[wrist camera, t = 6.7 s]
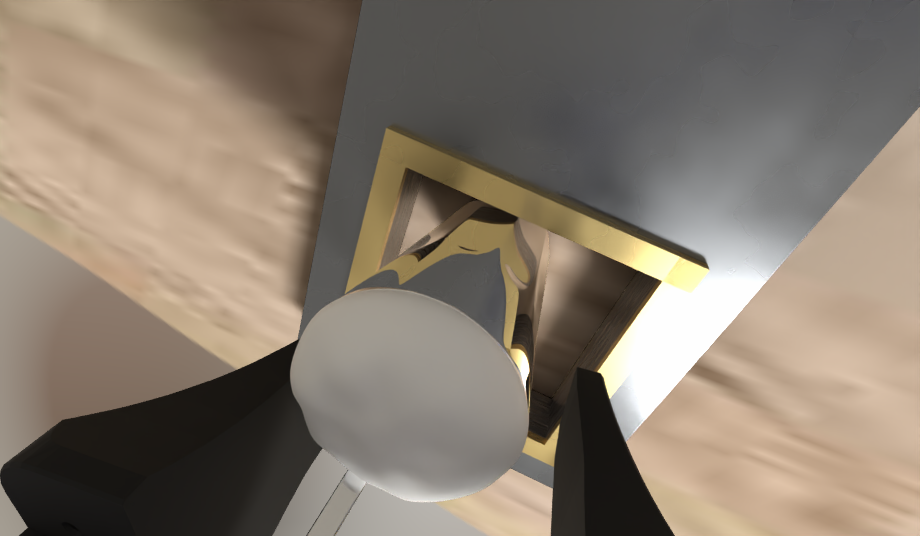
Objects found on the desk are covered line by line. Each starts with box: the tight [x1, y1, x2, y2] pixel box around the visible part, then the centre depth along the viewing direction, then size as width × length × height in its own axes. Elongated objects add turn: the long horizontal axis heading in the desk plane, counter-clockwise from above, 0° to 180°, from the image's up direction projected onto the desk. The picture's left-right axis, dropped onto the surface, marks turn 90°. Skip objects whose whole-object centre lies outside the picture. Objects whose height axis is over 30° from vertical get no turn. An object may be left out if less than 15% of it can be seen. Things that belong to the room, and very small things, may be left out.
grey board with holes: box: [298, 0, 920, 488], centre depth 12 cm, size 12×26×2 cm, turn 161°
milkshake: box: [290, 199, 550, 536], centre depth 12 cm, size 4×5×10 cm
